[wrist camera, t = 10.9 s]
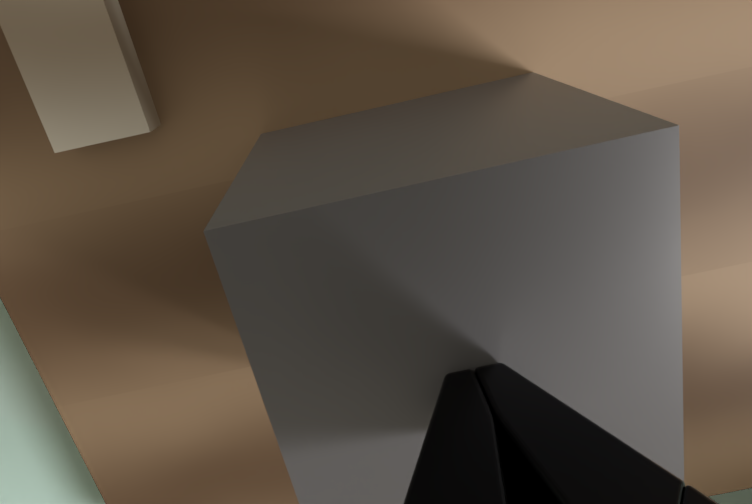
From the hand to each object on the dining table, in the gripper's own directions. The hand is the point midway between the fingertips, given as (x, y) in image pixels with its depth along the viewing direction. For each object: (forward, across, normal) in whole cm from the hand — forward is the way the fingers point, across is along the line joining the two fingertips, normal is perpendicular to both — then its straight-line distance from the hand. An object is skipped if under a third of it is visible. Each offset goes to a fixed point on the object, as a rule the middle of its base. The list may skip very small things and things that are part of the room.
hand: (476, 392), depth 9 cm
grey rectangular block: (+8, 0, 0) cm, 9 cm away
